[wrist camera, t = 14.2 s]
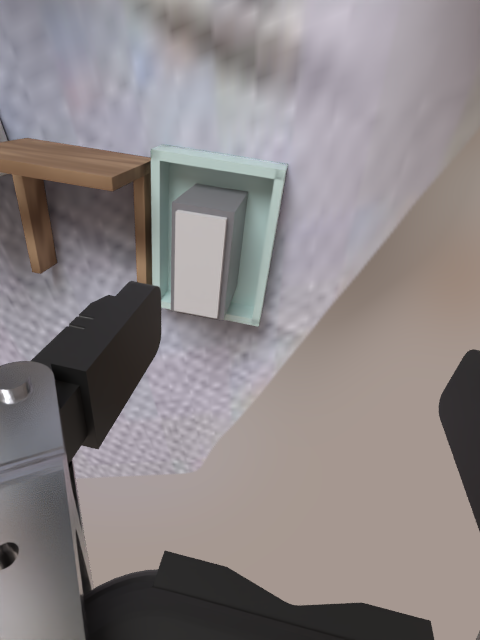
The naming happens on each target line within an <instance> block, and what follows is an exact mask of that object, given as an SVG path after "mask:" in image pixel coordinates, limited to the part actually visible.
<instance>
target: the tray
mask: <svg viewBox="0 0 480 640" xmlns="http://www.w3.org/2000/svg"><path fill="white" fill-rule="evenodd" d="M287 167H288V164H283V163H277V162H270V161H264V160H258V159H251V158H245V157H239V156H232V155H226V154H219V153H213V152H207V151H200V150H194V149H187V148H181V147H175V146H168V145H161V146H158V147H155V148H152V149H151V217H152V285H154V286H158V287H159V288H160V290H161V308H165V309H170V310H171V239H172V202H173V201H174V200H175V199H177V198H178V197H179V196H181V195H182V194H183V193H184V192H186V191H187V190H188V189H190V188H191V187H192V186H193V185H195V184H196V183H197V184H203V185H210V186H216V187H222V188H229V189H235V190H241V191H248V199H247V207H246V215H245V224H244V232H243V240H242V249H241V257H240V266H239V274H238V282H237V288H236V290H235V293H234V296H233V298H232V301H231V303H230V306H229V308H228V311H227V313H226V316H225V318H224V320H227V321H232V322H237V323H243V324H248V325H253V326H258V327H259V323H260V318H261V314H262V310H263V304H264V298H265V292H266V287H267V281H268V275H269V270H270V264H271V258H272V253H273V247H274V241H275V235H276V230H277V224H278V218H279V213H280V207H281V201H282V196H283V190H284V184H285V179H286V173H287Z"/></svg>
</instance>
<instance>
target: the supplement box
mask: <svg viewBox="0 0 480 640" xmlns="http://www.w3.org/2000/svg"><path fill="white" fill-rule="evenodd" d="M6 141H8V140H7V137H6V135H5V132H4V129H3V126H2V124H1V121H0V142H6ZM3 175H7V173H1V172H0V176H3Z"/></svg>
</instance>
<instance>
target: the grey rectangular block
mask: <svg viewBox="0 0 480 640" xmlns="http://www.w3.org/2000/svg"><path fill="white" fill-rule="evenodd" d="M247 199H248V191H241V190H235V189H229V188H222V187H216V186H210V185H203V184H197V183H196V184H195V185H193V186H192V187H191V188H190V189H188V190H187V191H186V192H184V193H183V194H182V195H181V196H179V197H178V198H177V199H175V200H174V201H173V202H172V239H171V311H174V312H179V313H184V314H190V315H195V316H200V317H206V318H211V319H216V320H222V321H224V318H225V316H226V313H227V311H228V308H229V306H230V303H231V301H232V298H233V296H234V293H235V290H236V288H237V282H238V274H239V266H240V257H241V249H242V240H243V232H244V224H245V215H246V207H247Z"/></svg>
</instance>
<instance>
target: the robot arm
mask: <svg viewBox="0 0 480 640" xmlns="http://www.w3.org/2000/svg"><path fill="white" fill-rule="evenodd" d="M160 340H161V290H160V288H159V287H158V286H154V285H149V284H144V283H139V282H134V281H130V282H129V283H128V284H127V285H126V286H125V287H124V288H123V289H122V290H121V291H120V292H119V293H118V294H117V295H116V296H111V295H108V296H105V297H103V298H101V299H99V300H97V301H95V302H93V303H91V304H90V305H89V306H88V307H87V308H86V309H84V310H83V311H82V312H81V313H80V314H79V317H76V318H75V319H74V320H73V321H72V322H71V323H70V324H69V327H68V326H67V327H66V328H65V329H64V330H63V331H61V332H60V333H59V334H58V335H57V336H56V337H55V338H54V339H53V340H52V341H51V342H50V343H49V344H48V345H47V346H46V347H45V348H44V349H43V350H42V351H41V352H40V353H39V354H37V355H36V356H35V357H34V358H33V359H32V360H31V361H19V362H12V363H8V364H4V365H1V366H0V640H434V637H433V631H432V626H431V621H429V620H425V619H422V618H417V617H414V616H410V615H406V614H402V613H399V612H395V611H391V610H388V609H384V608H380V607H376V606H372V605H369V604H365V603H346V604H324V605H304V606H297V605H291V604H289V603H286V602H284V601H283V600H281V599H279V598H278V597H276V596H274V595H273V594H271V593H269V592H268V591H266V590H264V589H263V588H261V587H259V586H258V585H256V584H254V583H253V582H251V581H249V580H248V579H246V578H244V577H243V576H241V575H239V574H237V573H236V572H234V571H233V570H231V569H229V568H228V567H225V566H221V565H217V564H213V563H209V562H205V561H202V560H198V559H195V558H190V557H187V556H183V555H179V554H176V553H172V552H168V551H164V555H163V557H162V560H161V563H160V566H159V569H158V570H145V571H140V572H134V573H130V574H127V575H124V576H121V577H118V578H115V579H113V580H111V581H108V582H106V583H104V584H102V585H100V586H98V587H96V588H95V589H94V588H93V581H92V575H91V570H90V565H89V559H88V553H87V548H86V542H85V536H84V530H83V523H82V517H81V511H80V504H79V497H78V490H77V484H76V477H75V470H74V464H73V459H72V458H73V457H74V455H75V454H76V452H77V451H78V449H79V448H80V446H81V445H83V446H87V447H91V448H95V449H99V447H100V445H101V444H102V442H103V441H104V439H105V437H106V436H107V434H108V432H109V431H110V429H111V427H112V426H113V424H114V423H115V421H116V419H117V418H118V416H119V414H120V413H121V411H122V409H123V408H124V406H125V404H126V403H127V401H128V400H129V398H130V396H131V395H132V393H133V391H134V390H135V388H136V386H137V385H138V383H139V382H140V380H141V378H142V377H143V375H144V373H145V372H146V370H147V368H148V367H149V365H150V363H151V362H152V360H153V359H154V357H155V355H156V353H157V351H158V348H159V344H160ZM439 416H440V420H441V422H442V425H443V428H444V431H445V434H446V437H447V440H448V442H449V445H450V448H451V451H452V454H453V456H454V460H455V462H456V465H457V468H458V471H459V473H460V476H461V479H462V482H463V485H464V488H465V491H466V494H467V497H468V500H469V502H470V505H471V508H472V511H473V514H474V517H475V519H476V522H477V525H478V528H479V531H480V351H479V350H470V351H468V352H467V353H466V354H465V356H464V357H463V359H462V361H461V362H460V364H459V366H458V367H457V369H456V371H455V372H454V374H453V376H452V377H451V379H450V381H449V383H448V384H447V386H446V388H445V389H444V391H443V393H442V395H441V398H440V402H439ZM476 640H480V631H479V634H478V636H477V638H476Z"/></svg>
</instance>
